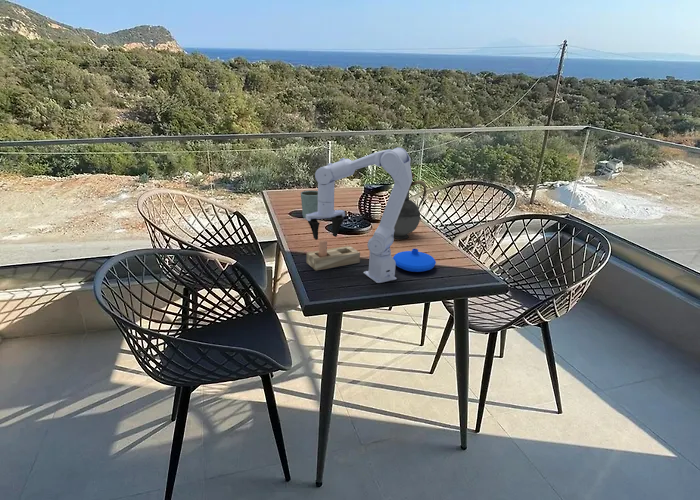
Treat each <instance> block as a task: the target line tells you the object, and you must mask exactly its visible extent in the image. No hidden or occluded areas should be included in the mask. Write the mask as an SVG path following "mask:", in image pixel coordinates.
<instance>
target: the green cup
mask: <svg viewBox="0 0 700 500" xmlns="http://www.w3.org/2000/svg"><path fill="white" fill-rule="evenodd" d="M300 200H301V201H300V202H301V211H302V218H303V219H305V220H306V214H310V213H314V212H318V190H304V191H301V192H300Z"/></svg>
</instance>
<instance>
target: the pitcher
mask: <svg viewBox="0 0 700 500" xmlns="http://www.w3.org/2000/svg"><path fill="white" fill-rule="evenodd" d="M411 173H412V183H411V185H410V188H409V190H408V193H407V196H406V198H405V201H404V203H403V206H402V209H401V211H400V214H399V216H398V219H397V221H396V224H395V227H394V230H395V231H394V235H393V237H394V240H395V239H396V240H405V239H408V238H409V237H410V235H409V234H411V233H413V232H414V231H416V229H417V228H418V226H419V223H420V222H421V221H422V218H421V212H420V208H421V205H422V204H423V202H424V201H425V200H424V199H425V198H426V195H427V190H428V189H427V184H426V182H425V181H423V180H420V179H419V180H415V181H413V179H414V178H415V176H416V175H415V174H416V173H414V172H413V171H412V170H411ZM417 185H421V186H422V187H423V193H422V198H421V200H420V202H419V203H418V205H417V204H416V203H415V202H414V201H413V200H411V199H409V198H410V191H411V187H414V186H417ZM385 208H386V206H384V209H383V212H382V214H383V213H384V210H385Z"/></svg>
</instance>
